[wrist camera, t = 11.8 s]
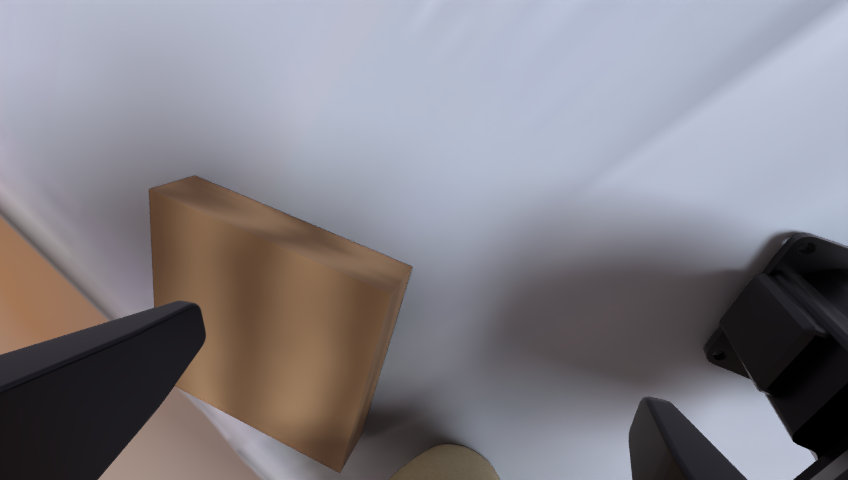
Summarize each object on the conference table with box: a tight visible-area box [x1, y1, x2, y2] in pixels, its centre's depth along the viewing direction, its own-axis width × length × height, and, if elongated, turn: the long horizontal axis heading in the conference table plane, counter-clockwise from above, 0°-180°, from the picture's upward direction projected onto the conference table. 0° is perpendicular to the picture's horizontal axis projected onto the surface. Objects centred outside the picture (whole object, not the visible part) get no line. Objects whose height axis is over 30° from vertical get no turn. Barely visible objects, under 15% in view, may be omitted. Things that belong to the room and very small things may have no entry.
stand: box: [149, 176, 412, 473], centre depth 25 cm, size 14×14×3 cm
